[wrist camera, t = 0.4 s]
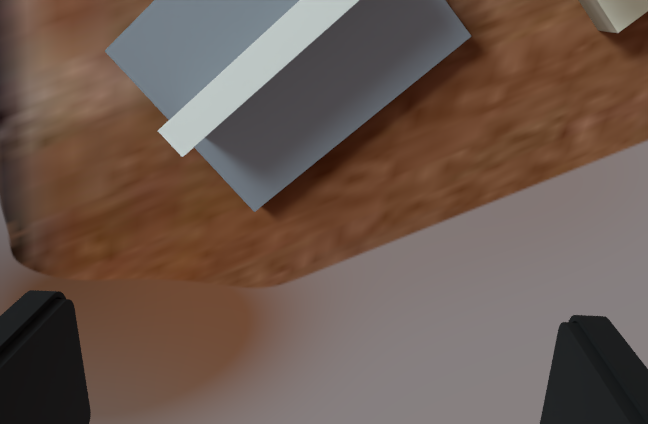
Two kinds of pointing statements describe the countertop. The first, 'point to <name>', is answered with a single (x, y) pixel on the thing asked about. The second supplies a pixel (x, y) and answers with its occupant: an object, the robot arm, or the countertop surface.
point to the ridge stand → (278, 76)
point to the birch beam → (614, 13)
